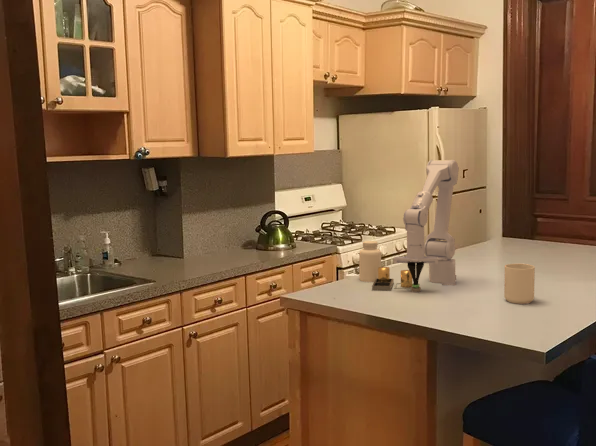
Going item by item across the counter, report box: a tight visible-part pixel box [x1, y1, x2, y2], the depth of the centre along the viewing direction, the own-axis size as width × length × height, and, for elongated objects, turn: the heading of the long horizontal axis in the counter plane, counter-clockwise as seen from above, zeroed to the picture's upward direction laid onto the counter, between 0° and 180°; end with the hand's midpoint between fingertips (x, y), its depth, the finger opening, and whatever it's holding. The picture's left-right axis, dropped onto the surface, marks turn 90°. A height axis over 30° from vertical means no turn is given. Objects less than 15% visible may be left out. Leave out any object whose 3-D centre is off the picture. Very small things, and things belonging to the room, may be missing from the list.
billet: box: [400, 269, 413, 288], centre depth 221 cm, size 4×4×6 cm
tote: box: [393, 282, 420, 290], centre depth 221 cm, size 8×8×1 cm
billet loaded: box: [378, 266, 391, 282], centre depth 224 cm, size 4×4×6 cm
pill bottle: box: [358, 240, 382, 283], centre depth 233 cm, size 8×8×15 cm
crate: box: [371, 278, 395, 292], centre depth 222 cm, size 7×12×2 cm, turn 167°
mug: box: [503, 263, 536, 305], centre depth 201 cm, size 12×9×11 cm
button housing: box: [410, 286, 422, 293], centre depth 214 cm, size 3×3×2 cm
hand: (415, 284), depth 214 cm, fingers closed, pressing on start button
